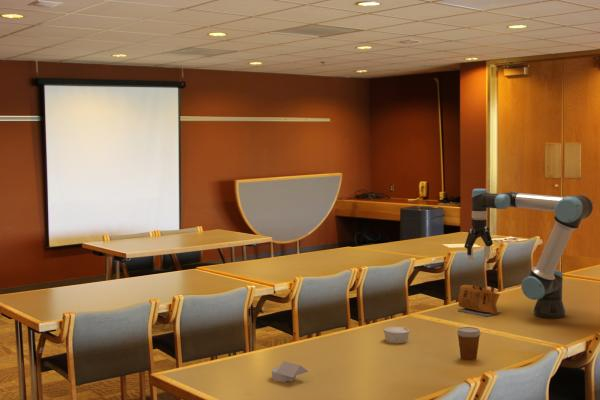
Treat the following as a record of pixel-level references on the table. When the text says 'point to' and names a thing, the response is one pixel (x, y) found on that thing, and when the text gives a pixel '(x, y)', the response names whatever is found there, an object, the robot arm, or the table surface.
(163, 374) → the table surface
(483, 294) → the coffee package
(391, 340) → the ramekin
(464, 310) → the mat
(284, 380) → the grey angular block
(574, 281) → the table surface
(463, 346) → the disposable coffee cup
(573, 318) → the table surface
